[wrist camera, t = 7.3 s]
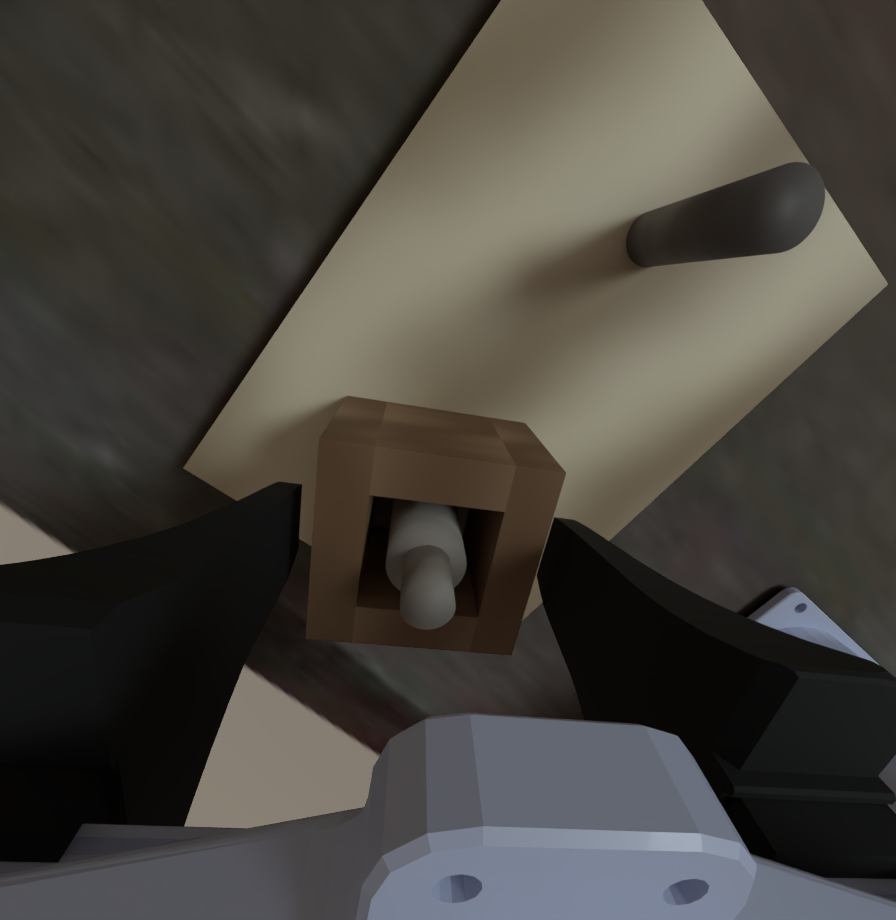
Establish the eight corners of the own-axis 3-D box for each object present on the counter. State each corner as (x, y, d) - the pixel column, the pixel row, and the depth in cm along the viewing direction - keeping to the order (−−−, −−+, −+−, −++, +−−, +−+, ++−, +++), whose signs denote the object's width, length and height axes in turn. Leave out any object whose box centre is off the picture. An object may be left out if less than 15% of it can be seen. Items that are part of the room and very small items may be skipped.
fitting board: (855, 284, 13) (1210, 278, 7) (483, 634, 18) (517, 808, 12) (585, -108, 10) (858, -756, 4) (198, 456, 14) (35, 579, 8)
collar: (525, 422, 13) (566, 472, 10) (488, 567, 15) (511, 655, 12) (347, 395, 13) (319, 438, 9) (333, 551, 15) (305, 639, 11)
